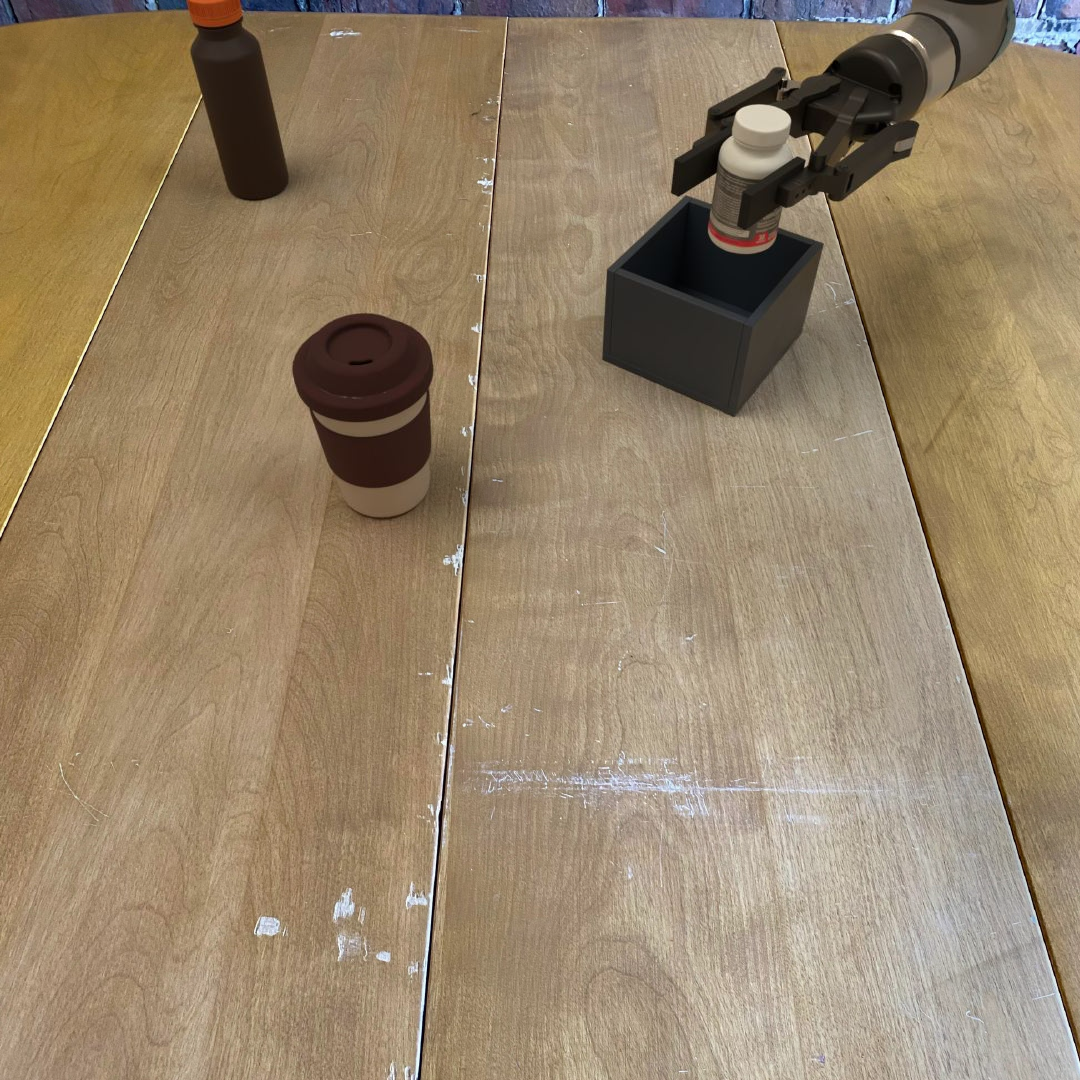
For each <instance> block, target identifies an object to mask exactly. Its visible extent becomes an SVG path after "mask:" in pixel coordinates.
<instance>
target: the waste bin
mask: <svg viewBox="0 0 1080 1080" xmlns="http://www.w3.org/2000/svg"><path fill="white" fill-rule="evenodd" d="M711 206H712V203H710V202H707V201H705V200H701V199H698V198H696V197H693V196H689V195H684V196H683V197H682V198H681V199H680V200H679V201H678V202H677V203H675V204H674V206H672V207H671V208H670V209H669V210H668V211H667V212H666V213H665V214H664V215H663V216H662V217H661V218H660V219H658V220H657V221H656V222H655V223H654V224H653V225H652V226H651V227H650V228H649V229H648V230H646V231H645V233H643V235H642V236H640V237H639V238H638V239H637V240H636V241H635V242H634V243H633V244H632V245H631V246H630V247H629V248H627V250H626V251H624V253H623V254H622V255H621V256H619V257H618V258H617V259H616V260H615V261H614V262H613V263H611V264H610V266H608V268H606V280H605V281H606V283H605V296H604V297H605V298H604V315H603V316H604V317H603V320H604V321H603V332H602V335H603V337H602V356H601V359H602V360H603V361H606V362H608V363H610V364H612V365H615V366H617V367H619V368H621V369H623V370H625V371H629V372H630V373H632V374H635V375H637V376H639V377H642V378H644V379H646V380H649V381H651V382H654V383H656V384H658V385H660V386H662V387H665V388H667V389H669V390H672V391H674V392H677V393H679V394H681V395H683V396H686V397H688V398H690V399H692V400H695V401H698V402H699V403H702V404H705V405H706V406H709V407H712V408H713V409H716V410H719V411H720V412H723V413H725V414H727V415H729V416H732V417H736V416H737V414H739V412H740V411H741V410H742V408H743V407H744V406H745V405H746V404H747V402H748V401H749V400H750V398H752V396H753V395H754V394H755V392H756V391H757V390H758V389H759V387H760V386H761V385H762V383H764V381H765V380H766V379H767V377H768V376H769V375H770V374H771V372H772V371H773V370H774V368H775V367H776V366H777V365H778V364H779V363H780V361H781V360H782V358H783V357H784V356H785V355H786V354H787V353H788V351H789V350H790V349H791V347H792V346H793V345H794V344H795V342H796V341H797V340H798V338H800V336H801V335H802V334H803V329H804V326H805V323H806V322H805V321H806V318H807V314H808V311H809V305H810V302H811V298H812V293H813V290H814V286H815V282H816V279H817V273H818V270H819V266H820V262H821V257H822V253H823V249H824V246H825V243H824V242H821V241H819V240H815V239H813V238H810V237H807V236H804V235H801V234H798V233H796V232H793V231H790V230H787V229H784V228H782V227H780V226H779V227H778V231H777V236H776V239H775V241H774V243H773V244H772V245H771V246H770V247H769V248H768V249H766V250H764V251H761V252H757V253H752V254H739V253H733V252H729V251H725V250H724V249H722V248H720V247H718V246H717V245H716V244H715V243H713V241H712V240H711V238H710V236H709V234H708V227H709V219H710V212H711Z"/></svg>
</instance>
